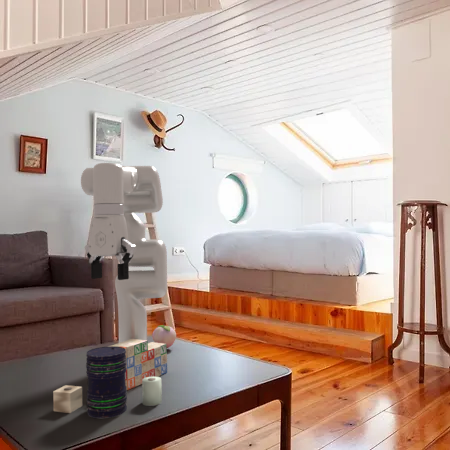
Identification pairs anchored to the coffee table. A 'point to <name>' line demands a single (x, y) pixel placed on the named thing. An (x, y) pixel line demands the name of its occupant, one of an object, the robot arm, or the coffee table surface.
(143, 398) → the sage cylinder
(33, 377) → the coffee table surface
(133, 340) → the stack of blocks
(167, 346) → the decorative fruit
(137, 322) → the robot arm
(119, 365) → the storage jar
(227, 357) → the coffee table surface
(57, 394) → the maple cube
